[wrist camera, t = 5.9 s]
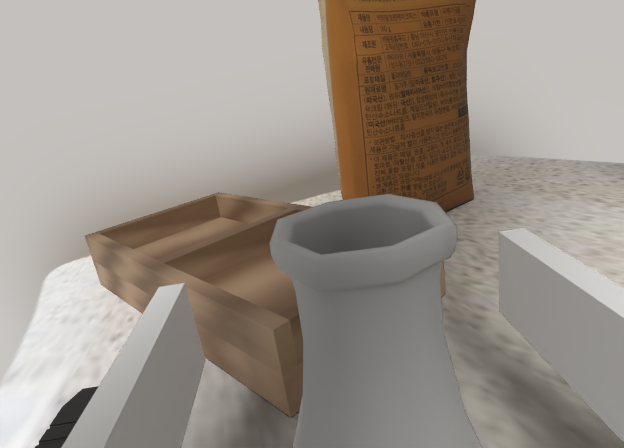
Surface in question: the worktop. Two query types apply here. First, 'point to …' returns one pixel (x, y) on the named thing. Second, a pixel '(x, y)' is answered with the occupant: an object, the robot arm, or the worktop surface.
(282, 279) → the wooden tray
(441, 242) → the flask
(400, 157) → the pancake mix bag
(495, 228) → the worktop surface
